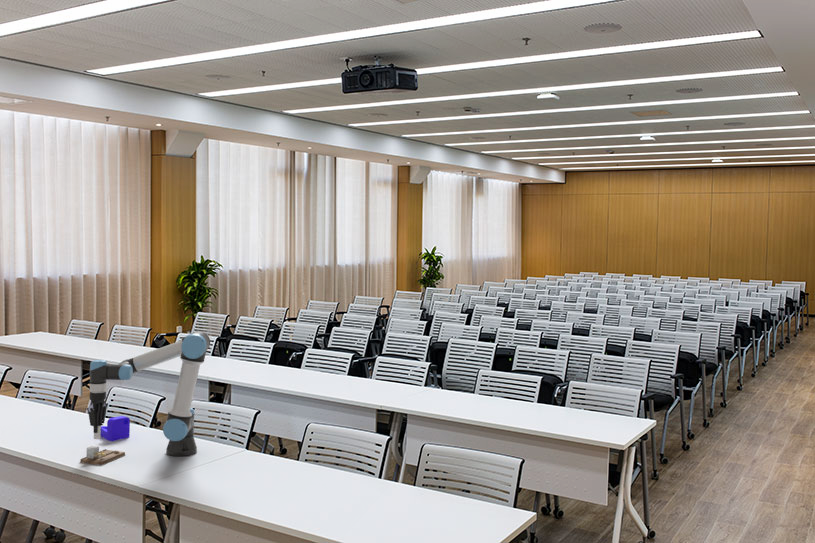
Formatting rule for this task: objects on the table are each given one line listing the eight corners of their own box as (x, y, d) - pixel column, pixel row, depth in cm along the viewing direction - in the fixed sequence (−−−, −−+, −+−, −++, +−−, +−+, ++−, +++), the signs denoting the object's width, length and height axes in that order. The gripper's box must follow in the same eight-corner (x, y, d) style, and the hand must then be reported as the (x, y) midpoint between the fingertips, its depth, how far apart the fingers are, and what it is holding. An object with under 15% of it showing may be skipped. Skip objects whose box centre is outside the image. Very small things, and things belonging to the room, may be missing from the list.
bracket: (129, 437, 399) (129, 416, 398) (111, 441, 389) (112, 420, 389) (109, 432, 408) (110, 411, 408) (92, 435, 399) (92, 414, 399)
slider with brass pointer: (107, 457, 354) (108, 447, 353) (102, 460, 350) (102, 449, 350) (91, 455, 356) (92, 445, 356) (86, 458, 352) (86, 447, 352)
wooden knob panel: (125, 455, 365) (125, 450, 365) (101, 465, 348) (101, 459, 348) (104, 452, 368) (104, 447, 368) (80, 462, 351) (80, 457, 351)
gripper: (100, 388, 362) (99, 434, 363) (82, 393, 350) (81, 441, 351) (113, 389, 360) (112, 436, 361) (95, 394, 348) (94, 442, 349)
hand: (97, 438), depth 356 cm, fingers closed
